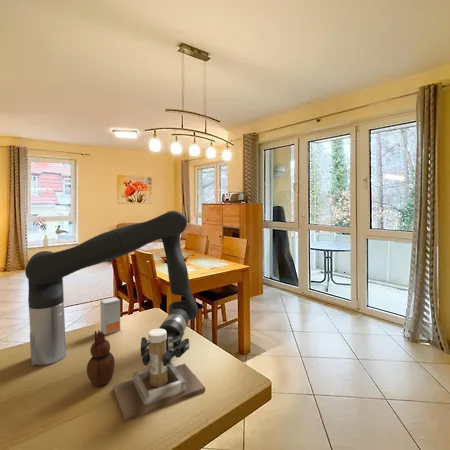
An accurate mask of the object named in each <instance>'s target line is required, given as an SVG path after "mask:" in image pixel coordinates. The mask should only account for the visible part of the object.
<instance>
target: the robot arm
mask: <svg viewBox="0 0 450 450" xmlns="http://www.w3.org/2000/svg"><path fill="white" fill-rule="evenodd" d="M187 219H188V218H187V217H186V215H185V214H183V213H182V212H180V211H178V210H169V211H167V212H165V213H163V214H161V215H159V216H157V217H154V218H152V219H149V220H146V221H143V222H140V223H134V224H130V225H125V226H123V227H118V228H114V229H111V230H109V231H104V232H102V233H100V234H98V235H96V236H93V237H91V238H89V239H87V240H85V241H84V242H81V243H79V244H77V245H75V246H73V247H69V248H66V249H63V250H59V251H55V252H52V251H49V250H42V251H39V252H36V253H34V254H33V255H32V256H31V257H30V258H29V260H28V262H27V264H26V265H25V277H26V278H27V280H28V283H27V284H28V300H27V301H28V313H29V314H28V315H29V316H28V317H29V318H28V319H29V344H30V345H29V348H30V362H31V366H32V367H33V366H47V365H51V364H54V363H57V362H59V361H61V360H62V359H64V358H65V357H66V355H67V343H66V342H67V341H66V339H67V338H66V324H65V323H66V321H65V301H64V300H65V299H64V280H63V278H65V277H67V276H69V275H71V274H73V273H76V272H77V271H81V270H83V269H86V268H90V267H92V266H95V265H99V264H102V263H105V262H109V261H112V260H115V259H117V258H120V257H123V256H125V255H127V254H131V253H132V252H134V251H136V250H138V249H141V248H142V247H144V246H145V247H146V245H148V244H150V243H152V242H155V241H158V240H161V242H162V245H163V250H164V253H165V258H166V259H165V260H166V266H167V273H168V274H167V275H168V282H169V290H170V293H171V294H172V295H175V296H182V297H183V298H184V300H176V301H173V302H171V303H170V304H169V305H168V316H167V317H166V318H165V319H164V320H163V322H162V323H161V325H160V326H159V328H158V329H164V330H166V332H167V338H166V353H165V355H164V357H163V366H167V364H169V363H170V362H171V361H172V359H174V357H176V358H181V357H182V356H183V354H185V353H186V352H187V351H188V350H189V349H190V338H184V339H183V337H184V335H185V333H186V329H187V326H188V324H189V321H191V320H195V319H196V318H197V317H198V314H199V307H198V304H197V302H196V300H195V297H194V295H193V293H192V289H191V286H190V279H189V277H190V276H189V272H188V267H187V264H186V261H185V259H184V255H183V253H182V248H181V239H180V237H181V234H182V233H183V232H184V231H185V230H186V229H187V225H188V221H187ZM140 356H141V358H142V364H143V366H148V363H149V340H148V338H147V337H144V336H143V337H141V339H140Z"/></svg>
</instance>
